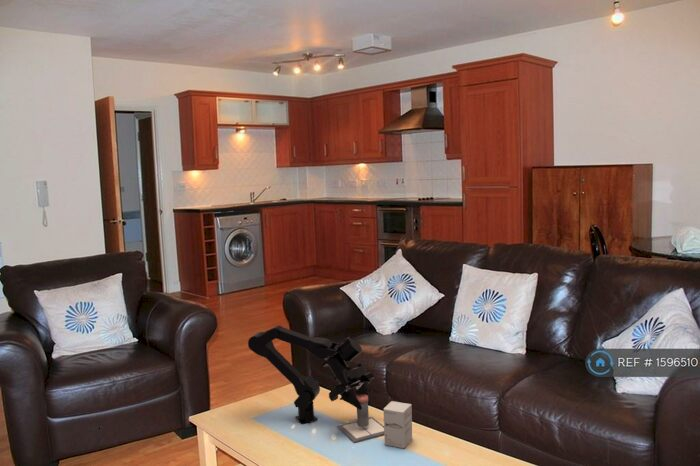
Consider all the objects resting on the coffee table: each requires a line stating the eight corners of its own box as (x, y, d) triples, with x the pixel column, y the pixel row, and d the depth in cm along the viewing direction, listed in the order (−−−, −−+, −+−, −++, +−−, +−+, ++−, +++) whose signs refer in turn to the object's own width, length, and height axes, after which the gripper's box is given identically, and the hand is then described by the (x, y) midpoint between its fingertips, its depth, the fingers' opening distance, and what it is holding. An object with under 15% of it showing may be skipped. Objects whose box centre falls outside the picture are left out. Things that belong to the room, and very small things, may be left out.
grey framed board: (337, 427, 210) (336, 423, 210) (372, 418, 216) (372, 414, 215) (354, 443, 197) (354, 439, 197) (391, 433, 203) (390, 429, 203)
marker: (355, 423, 207) (353, 395, 206) (365, 420, 209) (364, 393, 208) (360, 427, 203) (359, 399, 202) (371, 425, 205) (370, 397, 204)
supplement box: (383, 445, 195) (382, 408, 193) (393, 435, 201) (391, 400, 200) (404, 449, 191) (403, 412, 190) (413, 439, 198) (411, 403, 196)
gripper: (333, 364, 199) (359, 404, 193) (369, 350, 213) (394, 386, 207) (317, 381, 206) (342, 420, 199) (354, 366, 219) (378, 402, 213)
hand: (365, 406), depth 204 cm, fingers closed on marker, 4 cm apart
